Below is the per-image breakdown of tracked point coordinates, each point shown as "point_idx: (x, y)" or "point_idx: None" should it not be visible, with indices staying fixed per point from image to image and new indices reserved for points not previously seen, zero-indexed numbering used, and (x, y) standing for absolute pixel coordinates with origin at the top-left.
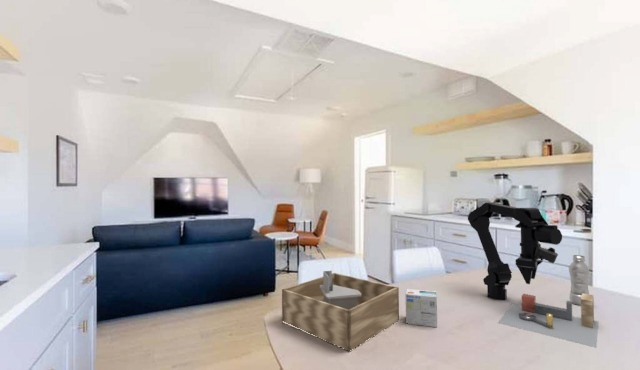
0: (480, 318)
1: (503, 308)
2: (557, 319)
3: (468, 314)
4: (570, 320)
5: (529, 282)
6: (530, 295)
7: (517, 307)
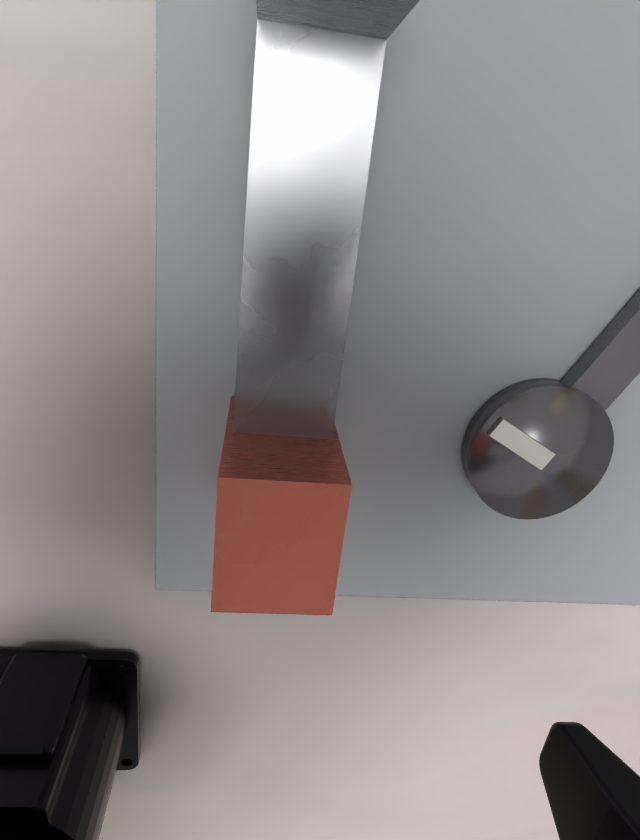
0: (624, 695)
1: (296, 623)
2: (409, 174)
3: None
4: None
5: (617, 762)
6: (242, 533)
7: None
